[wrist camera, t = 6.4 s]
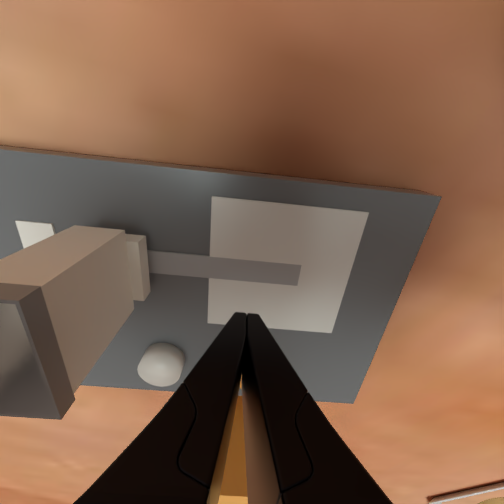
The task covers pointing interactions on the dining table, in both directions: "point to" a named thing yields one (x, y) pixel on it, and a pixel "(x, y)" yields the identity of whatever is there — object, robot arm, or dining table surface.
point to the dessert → (493, 503)
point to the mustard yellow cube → (235, 463)
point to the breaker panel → (229, 259)
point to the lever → (64, 313)
